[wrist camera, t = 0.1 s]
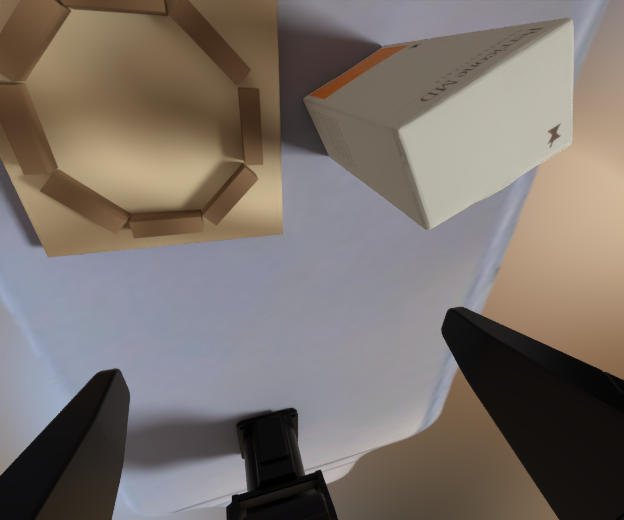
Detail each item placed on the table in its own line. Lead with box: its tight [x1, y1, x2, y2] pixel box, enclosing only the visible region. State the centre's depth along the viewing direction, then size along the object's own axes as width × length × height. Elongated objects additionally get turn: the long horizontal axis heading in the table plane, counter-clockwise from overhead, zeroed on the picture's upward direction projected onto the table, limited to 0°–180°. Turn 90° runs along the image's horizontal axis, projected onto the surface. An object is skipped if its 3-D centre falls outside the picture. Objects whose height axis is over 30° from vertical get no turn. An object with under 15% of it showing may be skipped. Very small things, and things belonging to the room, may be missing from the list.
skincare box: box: [303, 18, 574, 230], centre depth 15 cm, size 6×4×12 cm
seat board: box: [0, 0, 283, 257], centre depth 16 cm, size 14×14×2 cm
